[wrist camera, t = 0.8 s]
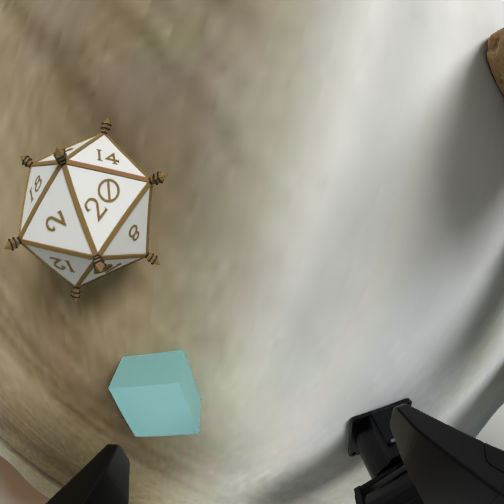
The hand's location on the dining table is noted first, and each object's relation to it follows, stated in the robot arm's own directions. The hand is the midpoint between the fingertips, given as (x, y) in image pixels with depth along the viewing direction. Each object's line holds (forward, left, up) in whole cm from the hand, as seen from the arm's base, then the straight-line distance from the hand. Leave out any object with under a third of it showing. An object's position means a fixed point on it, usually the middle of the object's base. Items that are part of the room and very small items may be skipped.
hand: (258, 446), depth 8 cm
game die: (+7, +7, -13) cm, 16 cm away
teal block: (-6, +7, -13) cm, 16 cm away
